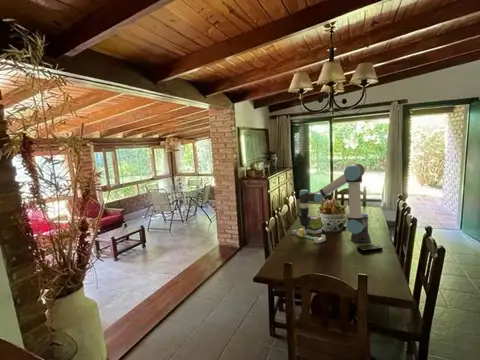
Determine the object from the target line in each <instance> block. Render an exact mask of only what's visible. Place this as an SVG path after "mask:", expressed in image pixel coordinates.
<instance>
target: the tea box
mask: <svg viewBox="0 0 480 360" xmlns="http://www.w3.org/2000/svg"><path fill="white" fill-rule="evenodd" d="M309 216H311V218H310V222H309V226H307V233H310V234H314V235H317V233H318V234H320V233H322V232H323V229H322V224H323V223H322V219H323V218H322V216H318V215H314V214H313V215H312V214H309Z"/></svg>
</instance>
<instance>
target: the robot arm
mask: <svg viewBox="0 0 480 360" xmlns="http://www.w3.org/2000/svg"><path fill="white" fill-rule="evenodd" d="M364 174H365V168H364V166H363V165H362V164H361V163H353V164H350V165H349V164H348V166H347V167H345V168H344V171H343V174H342V175H340V176H339V177H337V178H336V179H334V180H333V181H331V182H330V183H328V184H327V185H325V186H323V187H322V188H321V189H319V190H317V191H315V192H309V190H308V189H300V190H299V195H298V196H299V213H298V217H299V223H300V226H302V228H303V233H304V234H305V233H306V234H307V233H308V232H307V226H309V222H310V218H311V216H309V215H310V213H309V211H310V210H309V202H314V203H321V202H323V199H324V198H326V197H328V195H330V194H332V193H334V192H335V191H336V190H338V189H340V188H341V187H343V186H345V185H346V184H347V185H348V189H347V190H348V207H349V209H348V210H349V214H348V215H347V222H346V229H347V231H348V232H349V233H350V235H351V236H350V240H351V241H352V242H353V243H359V244H367V243H370V242H371V236H370V233H369V215H368V213H365V212H362V200H361V199H362V197H361V195H362V194H361V184H362V182H363V176H364Z"/></svg>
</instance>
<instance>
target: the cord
mask: <svg viewBox="0 0 480 360" xmlns="http://www.w3.org/2000/svg"><path fill="white" fill-rule="evenodd" d="M296 236H298V235H297V233H296ZM305 237H306V239H309V238H310V239H309V240H312V239H313V240H312V241H314V237H315V236H310V235H307V234H306V235H304V234H303V237H302V238H305ZM322 242H324V241H323V240H321V242H320V243H322Z"/></svg>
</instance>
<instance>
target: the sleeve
mask: <svg viewBox="0 0 480 360" xmlns="http://www.w3.org/2000/svg"><path fill="white" fill-rule="evenodd" d="M297 230H298V235H297V236H298V237H301V238H304V237H303V234H304V233H303V227H302V228H298V229H297ZM304 235H307V233H305V234H304Z"/></svg>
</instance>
